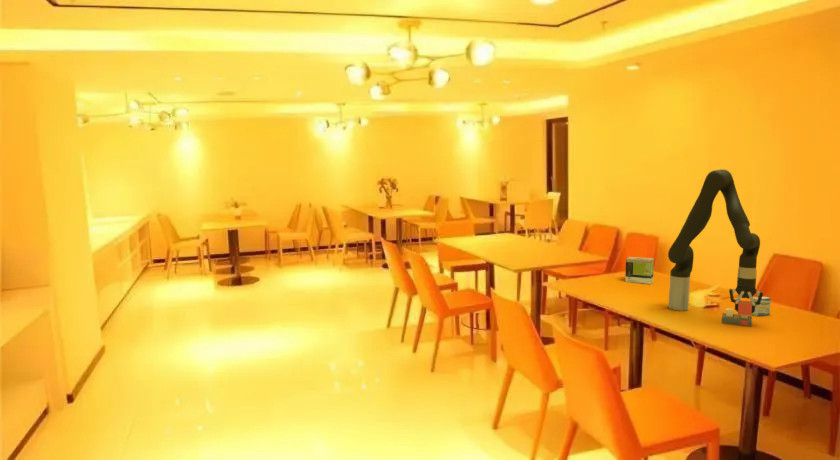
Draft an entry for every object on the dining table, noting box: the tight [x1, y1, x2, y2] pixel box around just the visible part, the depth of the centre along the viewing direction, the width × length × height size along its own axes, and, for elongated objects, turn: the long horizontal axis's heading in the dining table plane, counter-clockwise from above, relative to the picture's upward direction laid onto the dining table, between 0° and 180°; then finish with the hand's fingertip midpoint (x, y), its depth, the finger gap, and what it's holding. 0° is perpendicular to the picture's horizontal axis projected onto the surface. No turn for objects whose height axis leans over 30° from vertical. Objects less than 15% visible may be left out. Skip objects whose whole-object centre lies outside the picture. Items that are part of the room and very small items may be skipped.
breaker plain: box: [725, 307, 735, 317], centre depth 265 cm, size 3×3×4 cm
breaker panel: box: [721, 312, 753, 327], centre depth 264 cm, size 12×8×3 cm
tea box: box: [624, 256, 655, 285], centre depth 350 cm, size 15×10×15 cm
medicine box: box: [751, 295, 772, 317], centre depth 276 cm, size 8×4×9 cm, turn 105°
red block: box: [737, 299, 752, 317], centre depth 262 cm, size 5×5×6 cm
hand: (744, 311), depth 262 cm, fingers closed on red block, 5 cm apart
